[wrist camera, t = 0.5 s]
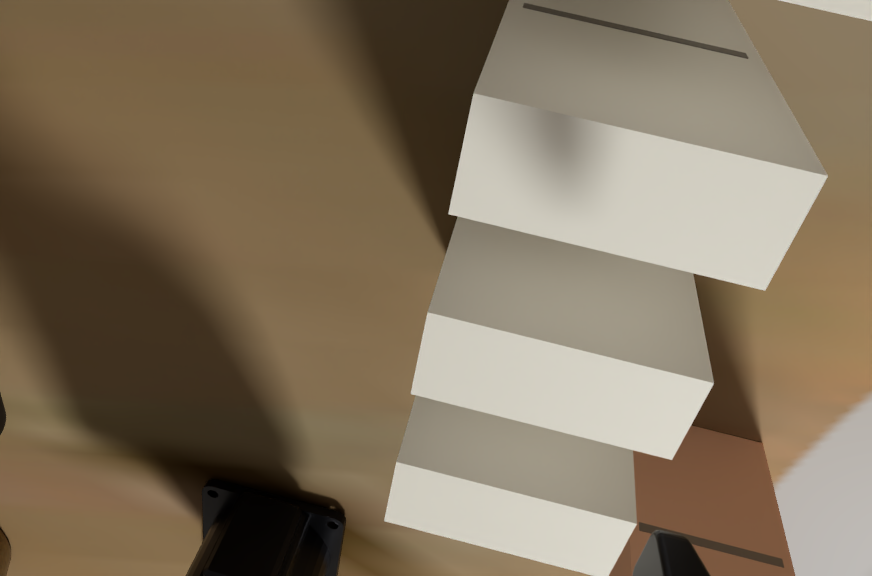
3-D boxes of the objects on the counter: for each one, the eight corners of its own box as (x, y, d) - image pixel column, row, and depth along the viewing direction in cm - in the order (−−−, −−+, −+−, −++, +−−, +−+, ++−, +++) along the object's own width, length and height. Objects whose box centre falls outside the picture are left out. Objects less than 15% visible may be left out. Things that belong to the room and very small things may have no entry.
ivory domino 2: (643, 204, 22) (671, 461, 14) (479, 165, 22) (410, 395, 14) (668, 141, 20) (714, 382, 12) (493, 101, 21) (427, 311, 13)
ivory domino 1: (694, 74, 19) (764, 291, 11) (509, 31, 20) (447, 215, 12) (726, -6, 18) (828, 174, 10) (527, -50, 18) (473, 91, 10)
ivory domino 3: (602, 309, 24) (606, 579, 16) (454, 273, 24) (384, 521, 16) (623, 258, 23) (637, 523, 15) (466, 220, 23) (396, 461, 15)
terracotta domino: (739, 479, 27) (798, 775, 19) (607, 445, 28) (611, 725, 19) (762, 442, 26) (836, 743, 18) (624, 408, 26) (636, 689, 18)
